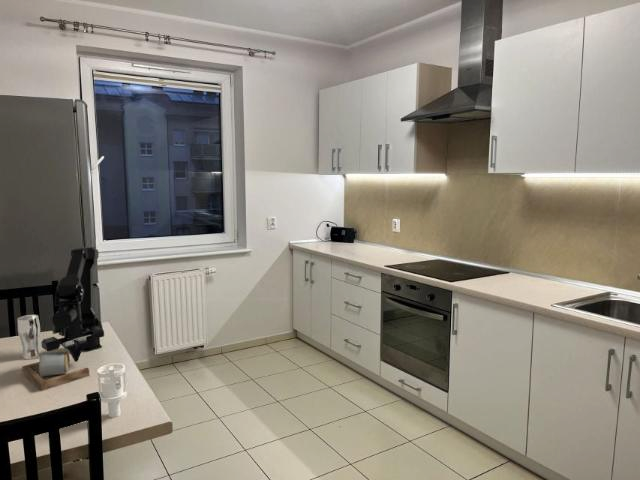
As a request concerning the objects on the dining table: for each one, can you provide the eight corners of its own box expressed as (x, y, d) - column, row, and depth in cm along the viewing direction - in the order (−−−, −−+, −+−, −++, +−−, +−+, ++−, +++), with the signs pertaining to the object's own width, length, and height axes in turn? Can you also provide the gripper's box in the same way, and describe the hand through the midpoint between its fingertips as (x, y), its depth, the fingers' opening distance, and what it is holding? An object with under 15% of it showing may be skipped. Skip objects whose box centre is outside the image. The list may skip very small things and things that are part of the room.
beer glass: (20, 361, 170) (15, 321, 168) (21, 354, 176) (17, 316, 174) (42, 357, 173) (38, 318, 171) (43, 351, 179) (39, 313, 177)
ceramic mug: (67, 376, 157) (65, 354, 156) (39, 380, 154) (37, 358, 153) (71, 364, 167) (69, 344, 166) (45, 368, 164) (43, 347, 163)
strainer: (101, 423, 128) (97, 371, 126) (100, 411, 135) (96, 362, 132) (128, 417, 131) (125, 367, 129) (127, 406, 137) (123, 357, 135)
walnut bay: (68, 360, 171) (67, 353, 170) (89, 375, 158) (88, 368, 158) (22, 373, 160) (22, 366, 160) (41, 390, 147) (41, 383, 147)
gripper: (90, 307, 173) (93, 347, 176) (33, 320, 160) (38, 363, 162) (103, 313, 166) (106, 355, 168) (45, 327, 152) (49, 372, 155)
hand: (76, 361), depth 163 cm, fingers closed
